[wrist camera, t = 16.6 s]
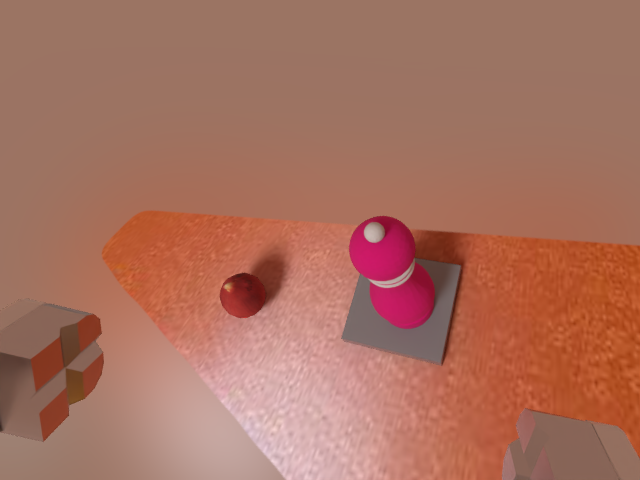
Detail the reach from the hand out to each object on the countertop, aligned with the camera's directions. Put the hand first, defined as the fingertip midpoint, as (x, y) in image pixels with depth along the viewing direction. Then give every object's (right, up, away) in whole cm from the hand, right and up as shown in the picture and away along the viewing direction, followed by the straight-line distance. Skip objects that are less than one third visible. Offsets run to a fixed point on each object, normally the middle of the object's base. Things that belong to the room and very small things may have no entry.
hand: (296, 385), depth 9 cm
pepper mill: (+11, -5, +47) cm, 48 cm away
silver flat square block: (+11, -5, +48) cm, 50 cm away
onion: (-8, -6, +55) cm, 56 cm away
